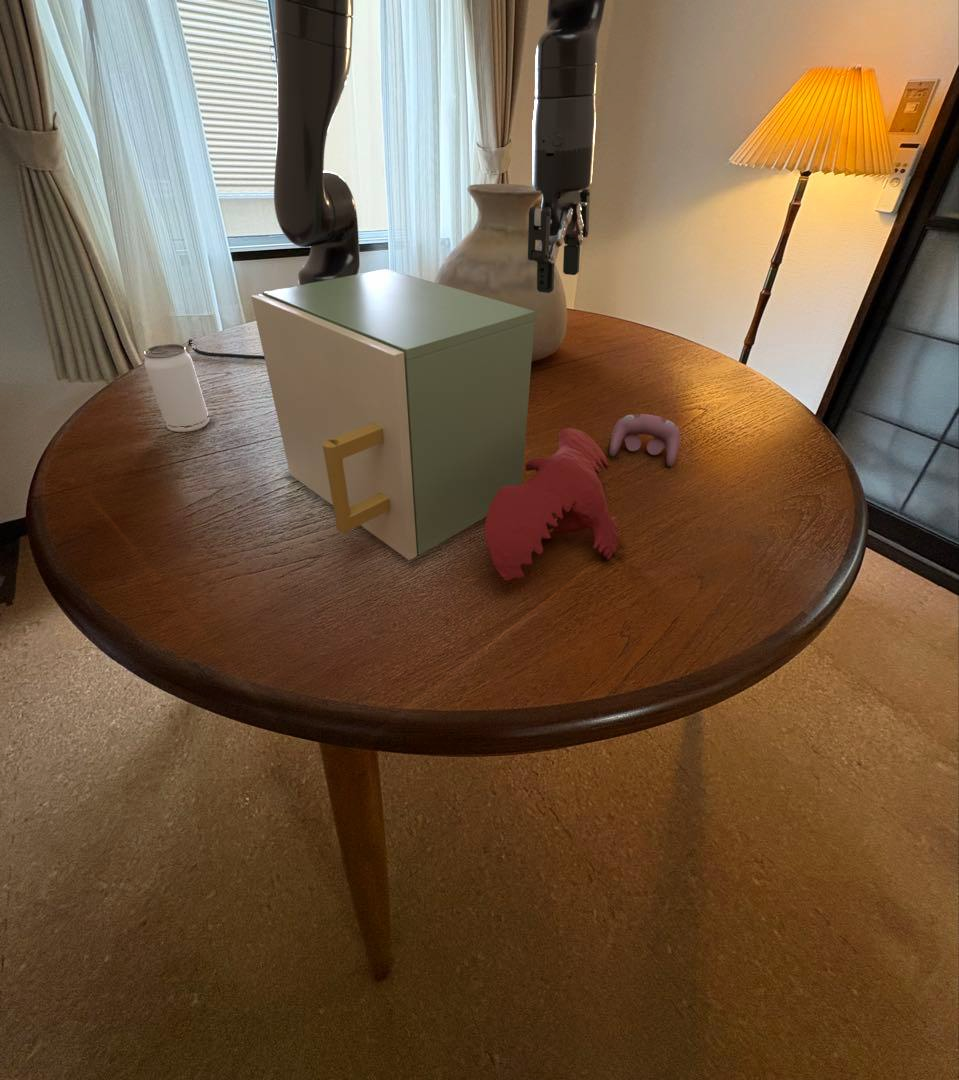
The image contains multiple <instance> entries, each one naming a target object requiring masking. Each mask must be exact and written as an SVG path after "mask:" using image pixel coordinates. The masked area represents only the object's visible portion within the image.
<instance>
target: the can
mask: <svg viewBox="0 0 959 1080" xmlns="http://www.w3.org/2000/svg"><path fill="white" fill-rule="evenodd" d="M143 356H144V363H143V364H144V368H145V371H146V374H147V377H148V379H149V384H150V385H151V388H152V390H153V394H154V396H155V400H156V403H157V405H158V408H159V410H160V413H161V416H162V419H163V422H164V421H165V422H166V423H167V424H170V425H174V426H186V425H187V426H188V425H193V424H196V423H199V422H201V421H203V420H204V419H206V418H207V416H208V415H209V411H208V409H207V404H206V402H205V399H204V395H203V392H202V389H201V385H200V381H199V378H198V375H197V372H196V368H195V365H194V362H193V359H192V356H191V355H190V354H189V353H188V352H187V350H186V347H185V346H184V345H182V344H178V343H165V344H158V345H154V346H151V347H149V348H146V349H145V350H143ZM165 422H164V423H165ZM209 422H210V416H209V417H208V419H207V420H206V421H205V422H203V423H202V424H199V425H196V426H193V427H188V428H172V427H169V426H167V425H166V424H165V427H166V428H167V429H168V430H169V431H171V432H173V433H185V434H186V433H192V432H196V431H199V430H202V429H203V428H205V427H206V426H207V425H208V424H209Z"/></svg>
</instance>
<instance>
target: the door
mask: <svg viewBox="0 0 959 1080" xmlns="http://www.w3.org/2000/svg"><path fill="white" fill-rule="evenodd" d="M250 298H251V302H252V307H253V312H254V316H255V317H254V318H255V321H256V326H257V330H258V331H257V332H258V335H259V339H260V344H261V349H262V353H263V356H264V358H265V360H264V362H265V367H266V372H267V376H268V381H269V385H270V389H271V394H272V399H273V403H274V408H275V412H276V416H277V422H278V425H279V431H280V436H281V439H282V444H283V448H284V449H283V450H284V453H285V458H286V462H287V468H288V470H289V471H288V472H289V476H291V477H293V478H294V479H296V481H298V482H300V484H302V485H304V486H305V487H307V489H309V490H311V491H312V492H314V494H316V495H317V496H319V497H320V498H322V499H323V500H324V501H326V502H328V504H330V505H331V506H332V508H333V512H334V518H335V519H334V520H335V525H336V529H337V531H338V532H341V533H346V532H349V531H352V530H354V529H355V528H358V527H362V528H363V529H364V530H366V531H367V532H369V533H370V534H372V535H373V536H375V537H376V538H377V539H378V540H380V541H381V542H383V543H384V544H386V545H387V546H388V547H390V548H391V549H393V550H394V551H395V552H396V553H398V554H400V555H401V556H402V557H404V558H405V559H407V560H408V561H411V560H412V559H414V558H416V557H418V554H417V548H416V532H415V517H414V502H413V486H412V471H411V455H410V440H409V424H408V409H407V394H406V378H405V363H404V352H402V351H399V350H397V349H394V348H392V347H390V346H387V345H385V344H382V343H380V342H377V341H375V340H372V339H370V338H367V337H365V336H362V335H360V334H358V333H355V332H353V331H350V330H348V329H345V328H343V327H340V326H338V325H335V324H333V323H330V322H328V321H325V320H323V319H321V318H318V317H316V316H313V315H311V314H308V313H306V312H303V311H301V310H298V309H296V308H293V307H291V306H289V305H286V304H284V303H281V302H279V301H276V300H274V299H271V298H269V297H266V296H264V295H263V294H262V293H257V294H253V295H250Z"/></svg>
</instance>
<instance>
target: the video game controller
mask: <svg viewBox="0 0 959 1080" xmlns="http://www.w3.org/2000/svg"><path fill="white" fill-rule="evenodd" d="M639 435H645V436H646V435H647V436H651V437H653V438H651V440H649V442H647V445H646V451H647V452H648V454H650V455H652V456H657V455H659V454H660V453H661V452H662V451H663V450H664V449H666V454H665V455H666V457H665V458H666V459H665V460H666V465H667V467H673V465H674V464H675V462H676V460H677V456H678V454H679V453H678V452H679V449H680V441H681V431H680V429H679V426H677V425H676V424H675V423H674V422H672V421H671V420H668V419H667V418H664V417H661V416H659V415H656V414H655V415H654V414H647V413H637V414H627V415H625V416H623V417H621V418H620V419H619V420H617V421H616V423H615V425H614V427H613V430H612V433H611V437H610V443H609V448H608V450H609V451H608V452H609V456H610V457H612V458H614V457H615V456H616V455H617V454H618V452H619V450H620V448H621V447H622V443H624V444H625V447H626V449H627V450H628V451H630V452H636V451H638V450H639V449H640V448H641V446H642V440H641V438H640V436H639Z"/></svg>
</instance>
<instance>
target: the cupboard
mask: <svg viewBox="0 0 959 1080" xmlns="http://www.w3.org/2000/svg"><path fill="white" fill-rule="evenodd" d="M261 294H262V295H264V296H266V297H269V298H271V299H274V300H276V301H279V302H281V303H284V304H286V305H289V306H291V307H293V308H296V309H298V310H301V311H303V312H306V313H308V314H311V315H313V316H316V317H318V318H321V319H323V320H325V321H328V322H330V323H333V324H335V325H338V326H340V327H343V328H345V329H348V330H350V331H353V332H355V333H358V334H360V335H362V336H365V337H367V338H370V339H372V340H375V341H377V342H380V343H382V344H385V345H387V346H390V347H392V348H394V349H397V350H399V351H402V352H404V363H405V378H406V394H407V409H408V424H409V440H410V455H411V471H412V486H413V502H414V517H415V532H416V548H417V556H421V555H423V554H424V553H426V552H427V551H429V550H430V549H433V548H434V547H436V546H438V545H439V544H441V543H443V542H445V541H447V540H448V539H450V538H451V537H454V536H455V535H457V534H458V533H461V532H462V531H463V530H466V529H467V528H470V526H472V525H474V524H476V523H478V522H479V521H481V520H483V519H485V518H487V515H488V510H489V507H490V505H491V503H492V501H493V499H494V498H495V496H496V495H497V493H498V491H499V489H500V488H502V487H504V486H517V485H521V484H523V477H524V475H523V474H524V464H525V449H526V439H527V438H526V436H527V425H528V424H527V423H528V409H529V401H530V399H529V397H530V385H531V373H532V362H531V360H532V347H533V334H534V321H535V311H533V310H529V309H526V308H522V307H518V306H515V305H511V304H508V303H504V302H501V301H497V300H494V299H490V298H487V297H483V296H480V295H476V294H473V293H469V292H466V291H462V290H459V289H455V288H452V287H448V286H445V285H441V284H438V283H434V281H430V280H427V279H423V278H420V277H417V276H413V275H409V274H406V273H403V272H399V271H397V270H396V271H395V270H392V269H388V268H384V269H379V270H373V271H369V272H368V271H367V272H362V273H358V274H357V275H351V276H346V277H341V278H335V279H330V280H325V281H319V282H314V283H309V284H304V285H299V284H298V285H294V286H289V287H282V288H277V289H271V290H267V291H266V290H265V291H262V292H261Z"/></svg>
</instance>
